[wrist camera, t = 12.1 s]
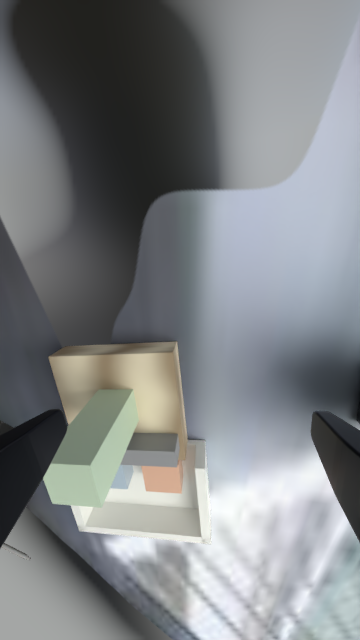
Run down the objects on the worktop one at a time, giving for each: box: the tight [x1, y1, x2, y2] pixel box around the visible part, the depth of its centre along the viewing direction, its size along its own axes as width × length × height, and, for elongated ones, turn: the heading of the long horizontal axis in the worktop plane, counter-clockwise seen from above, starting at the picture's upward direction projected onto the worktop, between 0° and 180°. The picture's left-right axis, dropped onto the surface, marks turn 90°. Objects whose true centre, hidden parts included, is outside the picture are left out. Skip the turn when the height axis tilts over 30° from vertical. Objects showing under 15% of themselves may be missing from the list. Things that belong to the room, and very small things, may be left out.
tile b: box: [110, 465, 134, 489], centre depth 24 cm, size 4×4×2 cm
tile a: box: [141, 460, 184, 494], centre depth 23 cm, size 4×4×2 cm
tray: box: [71, 440, 211, 544], centre depth 24 cm, size 16×11×3 cm
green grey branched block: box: [43, 389, 180, 508], centre depth 17 cm, size 11×7×8 cm, turn 95°
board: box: [48, 341, 188, 460], centre depth 21 cm, size 12×12×2 cm
